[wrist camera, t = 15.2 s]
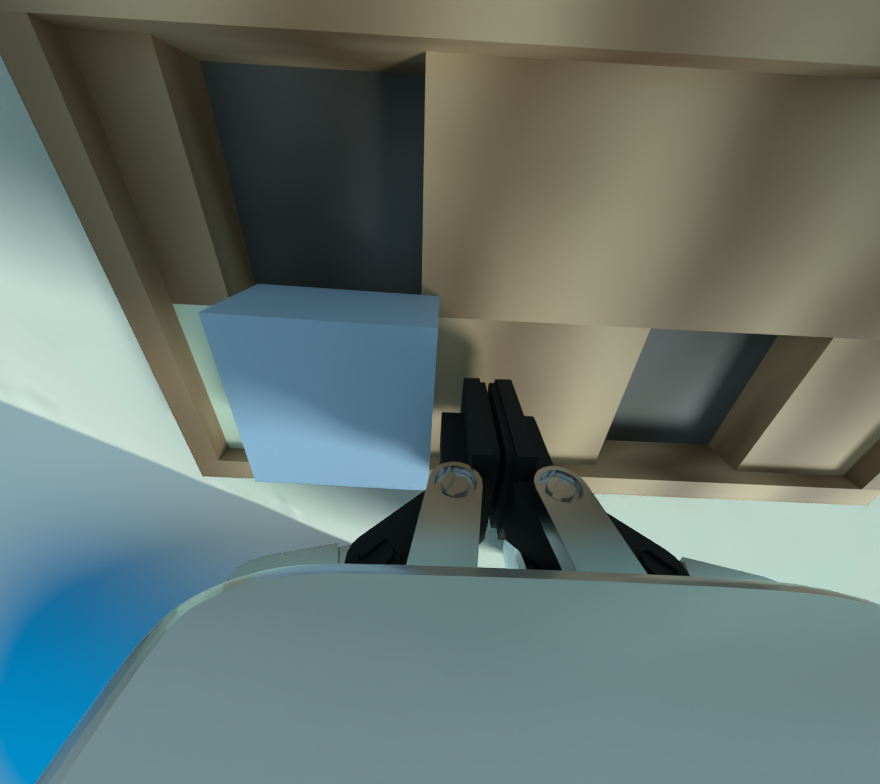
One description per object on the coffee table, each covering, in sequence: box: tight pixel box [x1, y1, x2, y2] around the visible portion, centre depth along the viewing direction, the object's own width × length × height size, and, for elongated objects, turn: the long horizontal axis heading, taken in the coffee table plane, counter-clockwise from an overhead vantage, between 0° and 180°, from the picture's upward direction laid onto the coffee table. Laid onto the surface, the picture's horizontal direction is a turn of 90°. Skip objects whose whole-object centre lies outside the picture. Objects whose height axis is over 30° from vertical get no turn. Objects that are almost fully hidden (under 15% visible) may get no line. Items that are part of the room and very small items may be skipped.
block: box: [198, 284, 440, 491], centre depth 11 cm, size 6×6×3 cm
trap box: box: [0, 0, 880, 506], centre depth 12 cm, size 30×15×3 cm, turn 87°
